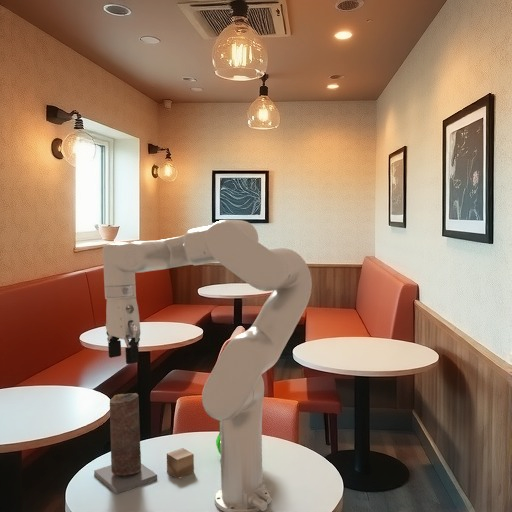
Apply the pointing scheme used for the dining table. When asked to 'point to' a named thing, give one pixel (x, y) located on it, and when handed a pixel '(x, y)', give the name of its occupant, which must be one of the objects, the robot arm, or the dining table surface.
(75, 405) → the dining table surface
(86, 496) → the dining table surface
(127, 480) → the slate board
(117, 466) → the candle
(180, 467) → the walnut block
